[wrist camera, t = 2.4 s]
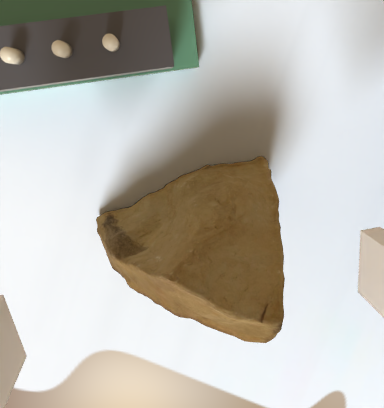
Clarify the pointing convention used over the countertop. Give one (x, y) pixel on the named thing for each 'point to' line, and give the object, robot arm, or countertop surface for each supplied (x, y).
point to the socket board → (92, 41)
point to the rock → (206, 248)
